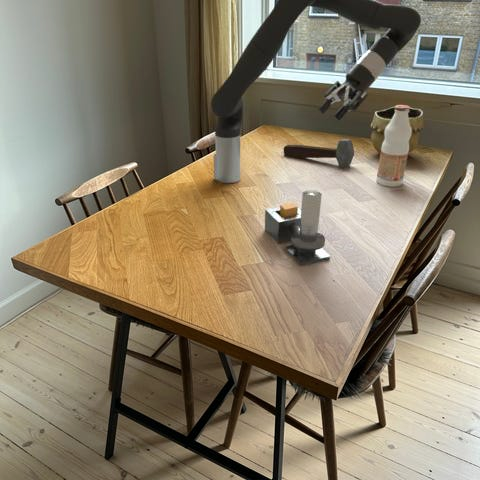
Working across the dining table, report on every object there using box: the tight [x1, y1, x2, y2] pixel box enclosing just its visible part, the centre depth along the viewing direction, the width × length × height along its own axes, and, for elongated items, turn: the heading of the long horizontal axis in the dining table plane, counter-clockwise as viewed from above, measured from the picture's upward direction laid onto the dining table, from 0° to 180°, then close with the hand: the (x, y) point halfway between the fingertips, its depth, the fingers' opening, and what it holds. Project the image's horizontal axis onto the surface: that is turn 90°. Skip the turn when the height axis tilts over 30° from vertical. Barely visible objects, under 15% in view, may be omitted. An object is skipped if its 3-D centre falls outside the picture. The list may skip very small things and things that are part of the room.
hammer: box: [283, 138, 355, 169], centre depth 183 cm, size 5×11×30 cm
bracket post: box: [264, 189, 331, 267], centre depth 120 cm, size 21×10×18 cm, turn 22°
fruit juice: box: [376, 104, 412, 188], centre depth 158 cm, size 9×9×28 cm
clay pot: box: [370, 106, 424, 155], centre depth 185 cm, size 21×21×20 cm
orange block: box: [279, 201, 299, 218], centre depth 128 cm, size 3×4×8 cm
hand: (328, 115), depth 130 cm, fingers open, 8 cm apart
